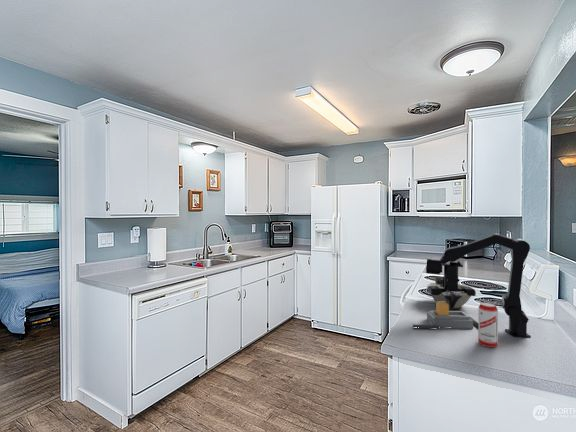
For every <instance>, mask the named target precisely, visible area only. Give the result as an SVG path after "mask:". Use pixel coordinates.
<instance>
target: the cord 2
mask: <svg viewBox="0 0 576 432" xmlns="http://www.w3.org/2000/svg"><path fill="white" fill-rule="evenodd" d="M469 317H470V318H471V320H473V326H476V327H477V328H478V324H479V321H476V319H474V318H472V317H471V316H469Z"/></svg>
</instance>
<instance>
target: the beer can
mask: <svg viewBox="0 0 576 432" xmlns="http://www.w3.org/2000/svg"><path fill="white" fill-rule="evenodd" d="M478 323H479V324H478V327H477V328H478V329H477V330H478V332H477V333H478V338H477V339H478V342H479V344H480V345H481V344H482V345H481V346H483V345H484V346H483V347H485V346H488V347H487V348H489V347H494V348H495V347H497V346H499V345H498V344H499V343H498V341H499V335H498V334H499V332H498V331H499V325H498V324H499V309H498V307H497V304H496V303H493V302H489V301H481V302H480V304H479V306H478Z"/></svg>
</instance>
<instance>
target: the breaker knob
mask: <svg viewBox="0 0 576 432" xmlns="http://www.w3.org/2000/svg"><path fill="white" fill-rule="evenodd" d="M435 304H436V305H435V306H436V307H435V311H436V314H437V315H449V311H450V309H449V305H448V304H447V303H446V302H445V301H437V302H435Z"/></svg>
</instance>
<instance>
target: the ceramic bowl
mask: <svg viewBox="0 0 576 432" xmlns="http://www.w3.org/2000/svg"><path fill="white" fill-rule="evenodd" d="M429 286H437V287H439V288H444V287H440V285H436V282H431V283H428V284H427V285H426V288H427V290H428V287H429ZM462 286H465V287H469V285H464V284H459V283H458V288H459V289H461V287H462ZM447 291H448V290H447ZM460 295H461V296H462V297H461V298H459V299H458V301H457V302H456V304H455V306H454V307H453V309H460V308H461V307H464V305H465V304H466V303H467V302H468V301H469V300H470V299H471V297H472V296H468V295H467V294H466V293H461V294H460ZM431 297H432V299H433V301H434V302H435V303H436V302H437V301H445V302H446V303H447V300H446V298H445V297H444V296H443V295H442V294H440V295H431ZM447 304H448V303H447Z"/></svg>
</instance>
